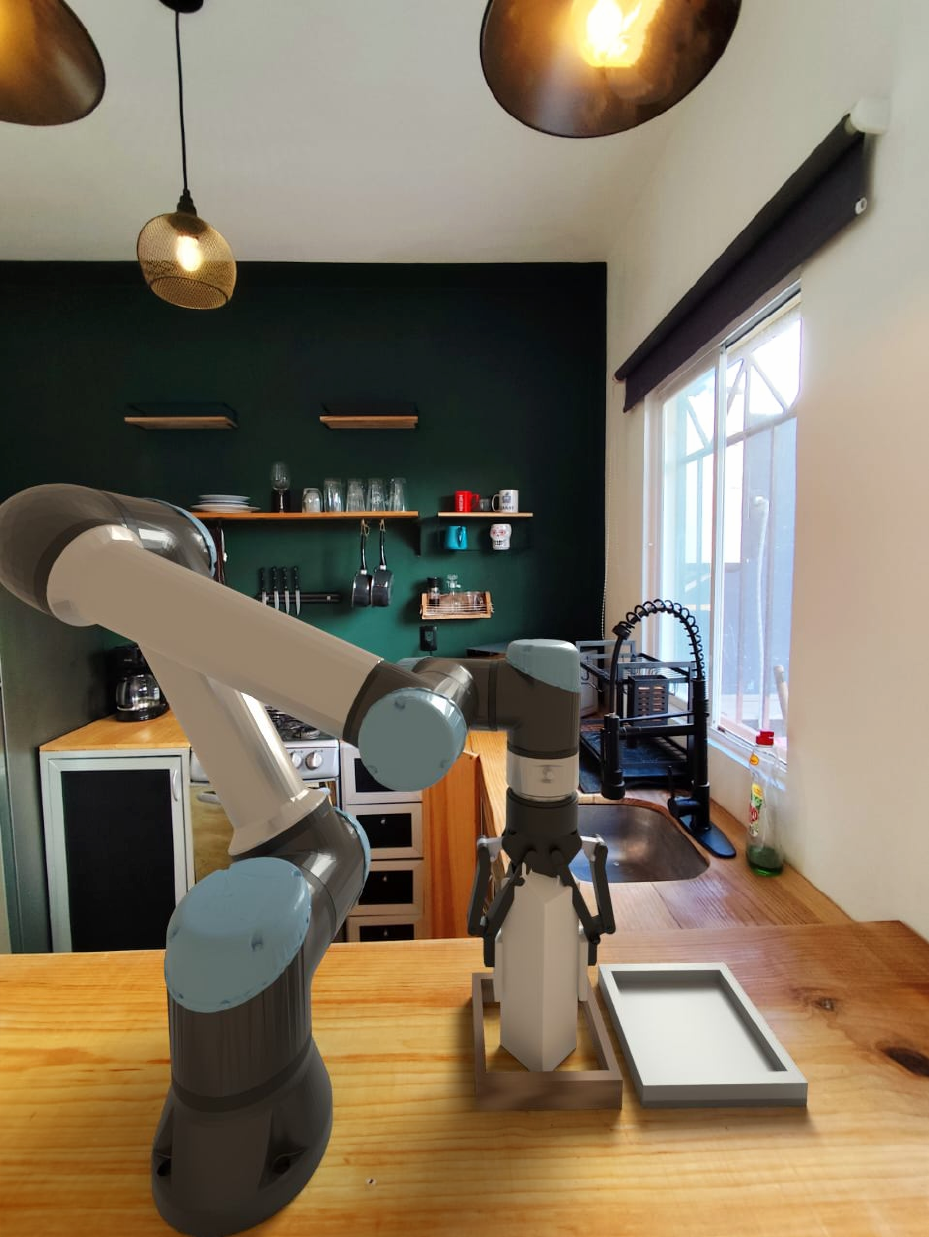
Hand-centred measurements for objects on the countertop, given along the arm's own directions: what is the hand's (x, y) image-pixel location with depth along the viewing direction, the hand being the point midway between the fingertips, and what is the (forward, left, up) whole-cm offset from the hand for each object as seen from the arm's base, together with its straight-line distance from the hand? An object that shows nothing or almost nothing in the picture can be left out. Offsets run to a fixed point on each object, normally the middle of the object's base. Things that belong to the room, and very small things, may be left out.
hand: (538, 991), depth 58 cm
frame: (0, 0, -6) cm, 6 cm away
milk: (0, 0, -7) cm, 7 cm away
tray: (+17, +1, -6) cm, 18 cm away
